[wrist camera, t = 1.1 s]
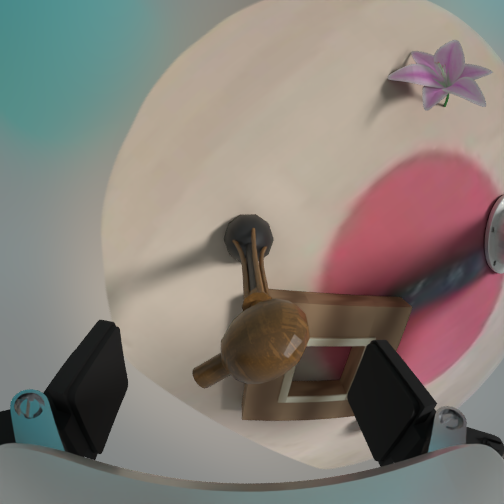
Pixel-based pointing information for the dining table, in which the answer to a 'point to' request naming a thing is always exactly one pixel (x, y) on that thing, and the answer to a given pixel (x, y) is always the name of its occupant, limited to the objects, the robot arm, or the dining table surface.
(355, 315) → the socket board
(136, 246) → the dining table surface
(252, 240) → the wooden tabletop sculpture
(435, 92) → the lily
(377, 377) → the robot arm
